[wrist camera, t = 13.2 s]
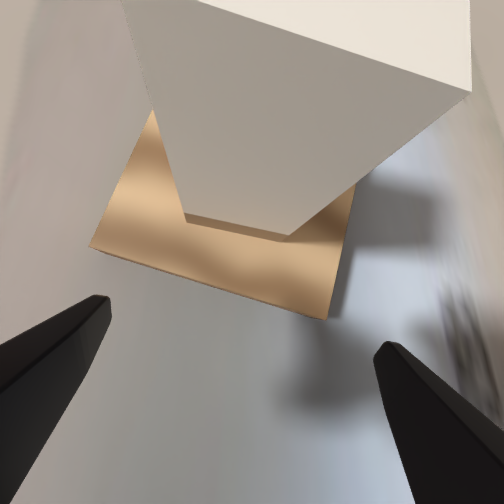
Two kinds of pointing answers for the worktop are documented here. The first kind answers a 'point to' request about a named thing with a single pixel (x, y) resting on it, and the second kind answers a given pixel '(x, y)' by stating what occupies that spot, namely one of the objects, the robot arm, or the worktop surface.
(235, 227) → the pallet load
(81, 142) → the worktop surface
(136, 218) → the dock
